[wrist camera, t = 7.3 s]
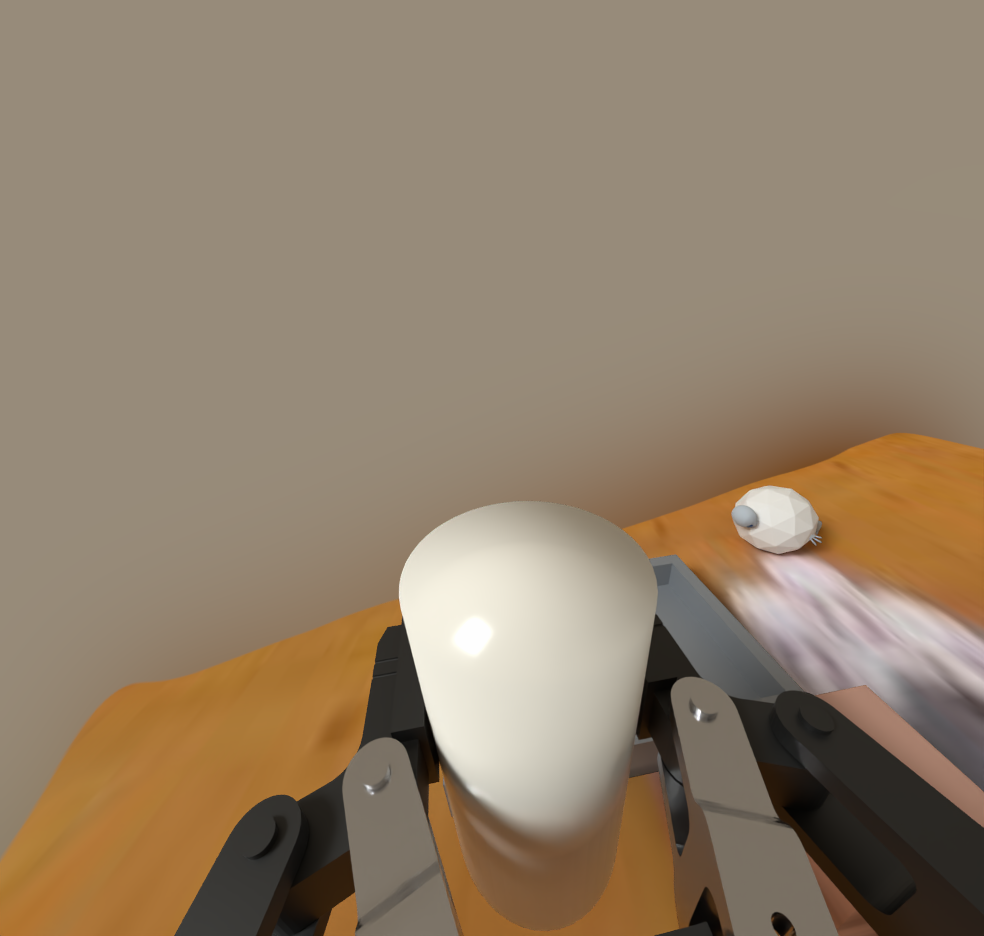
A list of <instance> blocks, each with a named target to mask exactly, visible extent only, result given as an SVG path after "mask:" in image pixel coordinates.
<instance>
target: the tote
mask: <svg viewBox="0 0 984 936" xmlns="http://www.w3.org/2000/svg"><path fill="white" fill-rule="evenodd" d="M649 561H650V563H651V565H652V567H653V570H654V573H655V576H656V579H657V589H658V596H657V606H656V612H655V614H657V615H658V617H659V618H660V620H661V621H662V623H663V626H665V627H666V628H667V630H668V631H669V633H670V634H671V635H672V637H673V638H674V640H675V641H676V643H677V644H678V646H679V647H680V648H681V650H682V651H683V653H684V654H685V656H686V657H687V658H688V660H689V661H690V663H691V664H692V666H693V667H694V668H695V670H696V671H697V673H698V674H699V675H700V676H701V677H702V678H703V679H705V680H707V681H709V682H711V683H713V684H715V685H716V686H718V687H719V688H720V689H722V690H723V691H724V692H725V693H726V694H727V695H729V696H732V697H736V698H741V699H747V700H754V701H761V702H768V703H775V701H776V698H777V697H778V695H780V694H781V693H783V692H785V691H790V690H796V691H802V692H804V691H803V690H802V689H801V688H800V687H799V686H798V685H797V684H796V682H795V681H794V680H793V679H792V678H791V677H790V676H789V675H788V674H787V673H786V672H785V671H784V670H783V669H782V667H781V666H780V665H779V664H778V663H777V662H776V661H775V660H774V659H773V658H772V657H771V656H770V655H769V654H768V652H767V651H766V650H765V649H764V648H763V647H762V646H761V645H760V644H759V643H758V642H757V641H756V640H755V639H754V637H753V636H752V635H751V634H750V633H749V632H748V631H747V630H746V629H745V628H744V627H743V626H742V625H741V624H740V622H739V621H738V620H737V619H736V618H735V617H734V616H733V615H732V614H731V613H730V612H729V611H728V610H727V609H726V608H725V606H724V605H723V604H722V603H721V602H720V601H719V600H718V599H717V598H716V597H715V596H714V595H713V594H712V593H711V591H710V590H709V589H708V588H707V587H706V586H705V585H704V584H703V583H702V582H701V581H700V580H699V579H698V578H697V576H696V575H695V574H694V573H693V572H692V571H691V570H690V569H689V568H688V567H687V566H686V565H685V564H684V563H683V561H682V560H681V559H680V558H679V557H678V556H677V555H670V556H664V557H658V558H652V559H649ZM657 757H658V750H657V748H656V745H655V743H654V741H653V739H652V737H651V738H647V739H642V740H639V739H638V737H637V735H635V741H634V747H633V754H632V760H631V766H630V772H629V778H630V777H635V776H639V775H644V774H649V773H653V772H658V771H659V768H658V760H657ZM443 786H444V790H445V794H446V797H447V801H448V805H449V809H450V812H451V816H452V817H453V814H452V810H451V806H450V802H449V798H448V794H447V790H446V786H445V782H444V778H443Z"/></svg>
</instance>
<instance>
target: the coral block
mask: <svg viewBox="0 0 984 936" xmlns="http://www.w3.org/2000/svg"><path fill="white" fill-rule="evenodd" d="M815 696H816V697H818V698H820V699H822V700H824V701H825V702H827V703H829V704H830V705H831V706H833V707H834V708H835V709H837V710H838V711H839V712H840V713H842V714H843V715H844V716H845V717H847V718H848V719H849V720H850V721H852V722H853V723H854V724H855V725H857V726H858V727H859V728H860V729H862V730H863V731H864V732H865V733H867V734H868V735H869V736H870V737H872V738H873V739H874V740H875V741H876V742H878V743H879V744H880V745H881V746H883V747H884V748H885V749H886V750H888V751H889V752H890V753H891V754H893V755H894V756H895V757H896V758H898V759H899V760H900V761H901V762H903V763H904V764H905V765H906V766H908V767H909V768H910V769H911V770H913V771H914V772H915V773H916V774H918V775H919V776H920V777H921V778H922V779H924V780H925V781H926V782H927V783H929V784H930V785H931V786H932V787H934V788H935V789H936V790H937V791H939V792H940V793H941V794H942V795H944V796H945V797H946V798H947V799H949V800H950V801H951V802H952V803H954V804H955V805H956V806H957V807H959V808H960V809H961V810H962V811H964V812H965V813H966V814H967V815H969V816H970V817H971V818H972V819H973V820H975V821H976V822H977V823H978V824H980V825H981V826H982V827H983V828H984V792H983V791H982V790H981V789H980V788H979V787H978V786H977V785H975V784H974V783H973V782H972V781H971V780H970V779H969V778H968V777H967V776H966V775H964V774H963V773H962V772H961V771H960V770H959V769H958V768H957V767H956V766H954V765H953V764H952V763H951V762H950V761H949V760H948V759H947V758H946V757H944V756H943V755H942V754H941V753H940V752H939V751H938V750H937V749H936V748H935V747H933V746H932V745H931V744H930V743H929V742H928V741H927V740H926V739H925V738H923V737H922V736H921V735H920V734H919V733H918V732H917V731H916V730H915V729H914V728H912V727H911V726H910V725H909V724H908V723H907V722H906V721H905V720H904V719H902V718H901V717H900V716H899V715H898V714H897V713H896V712H895V711H894V710H893V709H891V708H890V707H889V706H888V705H887V704H886V703H885V702H884V701H883V700H881V699H880V698H879V697H878V696H877V695H876V694H875V693H874V692H873V691H871V690H870V689H869V688H868V687H867V686H866V685H863V686H858V687H853V688H849V689H844V690H839V691H834V692H829V693H824V694H820V695H815ZM805 852H806V851H805ZM806 854H807V857H808V859H809V862H810V865H811V867H812V870H813V872H814V875H815V877H816V880H817V882H818V885H819V887H820V890H821V892H822V895H823V897H824V900H825V902H826V905H827V907H828V910H829V912H830V915H831V917H832V920H833V922H834V925H835V927H836V930H837V932H838V935H839V936H878V935H877V933H876V932H875V931H874V930H873V929H872V928H871V927H870V925H869V924H868V923H867V922H866V921H865V920H864V918H863V917H862V916H861V915H860V914H859V913H858V911H857V910H856V909H855V908H854V907H853V906H852V904H851V903H850V902H849V901H848V900H847V899H846V898H845V896H844V895H843V894H842V893H841V892H840V891H839V889H838V888H837V887H836V886H835V885H834V884H833V882H832V881H831V880H830V879H829V878H828V877H827V876H826V874H825V873H824V872H823V871H822V870H821V869H820V867H819V866H818V865H817V864H816V863H815V862H814V860H813V859H812V858H811V857H810V856H809V855H808V853H807V852H806Z"/></svg>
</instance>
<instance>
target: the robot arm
mask: <svg viewBox="0 0 984 936" xmlns="http://www.w3.org/2000/svg"><path fill="white" fill-rule="evenodd" d="M636 735H637V737H638V739H639V740H642V739H647V738H651V737H652V739H653V741H654V743H655V745H656V748H657V750H658V757H657V760H658V768H659V774H660V780H661V786H662V793H663V799H664V805H665V811H666V817H667V823H668V829H669V835H670V842H671V848H672V854H673V863H674V893H675V903H676V911H677V918H678V924H679V929H678V930H674V931H670V932H667V933H663V934H659V935H655V936H778V935H780V936H839V935H838V932H837V930H836V927H835V925H834V922H833V920H832V917H831V915H830V912H829V910H828V907H827V905H826V902H825V900H824V897H823V895H822V892H821V890H820V887H819V885H818V882H817V880H816V877H815V875H814V872H813V870H812V867H811V865H810V862H809V859H808V857H807V854H806V852H807V853H808V855H809V856H810V857H811V858H812V859H813V860H814V862H815V863H816V864H817V865H818V866H819V867H820V869H821V870H822V871H823V872H824V873H825V874H826V876H827V877H828V878H829V879H830V880H831V881H832V882H833V884H834V885H835V886H836V887H837V888H838V889H839V891H840V892H841V893H842V894H843V895H844V896H845V898H846V899H847V900H848V901H849V902H850V903H851V904H852V906H853V907H854V908H855V909H856V910H857V911H858V913H859V914H860V915H861V916H862V917H863V918H864V920H865V921H866V922H867V923H868V924H869V925H870V927H871V928H872V929H873V930H874V931H875V932H876V933H877V935H878V936H984V828H983V827H982V826H981V825H980V824H978V823H977V822H976V821H975V820H973V819H972V818H971V817H970V816H969V815H967V814H966V813H965V812H964V811H962V810H961V809H960V808H959V807H957V806H956V805H955V804H954V803H952V802H951V801H950V800H949V799H947V798H946V797H945V796H944V795H942V794H941V793H940V792H939V791H937V790H936V789H935V788H934V787H932V786H931V785H930V784H929V783H927V782H926V781H925V780H924V779H922V778H921V777H920V776H919V775H918V774H916V773H915V772H914V771H913V770H911V769H910V768H909V767H908V766H906V765H905V764H904V763H903V762H901V761H900V760H899V759H898V758H896V757H895V756H894V755H893V754H891V753H890V752H889V751H888V750H886V749H885V748H884V747H883V746H881V745H880V744H879V743H878V742H876V741H875V740H874V739H873V738H872V737H870V736H869V735H868V734H867V733H865V732H864V731H863V730H862V729H860V728H859V727H858V726H857V725H855V724H854V723H853V722H852V721H850V720H849V719H848V718H847V717H845V716H844V715H843V714H842V713H840V712H839V711H838V710H837V709H835V708H834V707H833V706H831V705H830V704H829V703H827V702H825V701H824V700H822V699H820V698H818V697H816V696H814V695H812V694H809V693H806V692H802V691H796V690H790V691H785V692H783V693H781V694H780V695H778V697H777V698H776V701H775V703H768V702H761V701H754V700H747V699H741V698H736V697H732V696H729V695H727V694H726V693H725V692H724V691H723V690H722V689H720V688H719V687H718V686H716V685H715V684H713V683H711V682H709V681H707V680H705V679H703V678H702V677H701V676H700V675H699V674H698V673H697V671H696V670H695V668H694V667H693V666H692V664H691V663H690V661H689V660H688V658H687V657H686V656H685V654H684V653H683V651H682V650H681V648H680V647H679V646H678V644H677V643H676V641H675V640H674V638H673V637H672V635H671V634H670V633H669V631H668V630H667V628H666V627H665V626H663V623H662V621H661V620H660V618H659V617H658V615H657V614H655V619H654V625H653V631H652V637H651V643H650V649H649V655H648V661H647V668H646V674H645V680H644V686H643V692H642V698H641V704H640V711H639V717H638V723H637V729H636ZM435 782H439V758H438V754H437V750H436V746H435V742H434V738H433V734H432V730H431V726H430V722H429V718H428V714H427V711H426V707H425V703H424V699H423V695H422V691H421V687H420V683H419V679H418V675H417V671H416V667H415V663H414V659H413V655H412V651H411V647H410V643H409V639H408V635H407V631H406V627H405V623H404V619H403V615H402V625H398V626H392V627H387V629H386V631H385V633H384V634H383V636H382V638H381V639H380V641H379V643H378V646H377V652H376V658H375V665H374V670H373V680H372V683H371V689H370V695H369V701H368V707H367V713H366V719H365V725H364V731H363V737H362V741H361V744H360V747H359V749H358V751H357V753H356V754H355V756H354V757H353V759H352V760H351V762H350V763H349V765H348V767H347V768H346V769H345V770H344V771H343V772H342V773H341V774H340V775H339V776H338V777H337V778H335V779H334V780H333V781H331V782H330V783H328V784H326V785H325V786H323V787H321V788H319V789H318V790H316V791H314V792H313V793H311V794H309V795H307V796H306V797H304V798H302V799H300V800H299V801H297V802H296V801H295V800H294V799H293V798H292V797H290V796H287V795H276V796H272V797H269V798H267V799H265V800H263V801H261V802H260V803H258V804H257V805H255V806H254V807H253V808H252V809H251V810H249V811H248V812H247V813H246V814H245V815H244V816H243V818H242V819H241V820H240V821H239V822H238V824H237V825H236V826H235V828H234V829H233V831H232V832H231V834H230V836H229V837H228V839H227V841H226V843H225V845H224V846H223V848H222V850H221V852H220V854H219V856H218V857H217V859H216V861H215V863H214V865H213V866H212V868H211V870H210V872H209V874H208V875H207V877H206V879H205V881H204V883H203V885H202V886H201V888H200V890H199V892H198V894H197V895H196V897H195V899H194V901H193V903H192V905H191V906H190V908H189V910H188V912H187V914H186V915H185V917H184V919H183V921H182V923H181V924H180V926H179V928H178V930H177V932H176V934H175V935H174V936H323V935H324V932H325V929H326V926H327V923H328V920H329V916H330V913H331V910H332V908H333V907H335V906H336V905H337V904H339V903H340V902H342V901H343V900H345V899H346V898H347V897H349V896H350V895H352V894H353V893H354V892H355V894H356V902H357V911H358V924H357V927H356V931H355V936H463V932H462V929H461V926H460V923H459V919H458V916H457V913H456V909H455V906H454V902H453V899H452V896H451V892H450V889H449V885H448V882H447V878H446V875H445V872H444V868H443V865H442V861H441V858H440V855H439V851H438V848H437V844H436V841H435V837H434V834H433V831H432V827H431V824H430V820H429V817H428V797H429V784H431V783H435ZM805 851H806V852H805Z"/></svg>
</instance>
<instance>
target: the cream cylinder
mask: <svg viewBox="0 0 984 936" xmlns="http://www.w3.org/2000/svg"><path fill="white" fill-rule="evenodd" d="M657 596H658V589H657V579H656V576H655V573H654V570H653V567H652V565H651V563H650V561H649V559H648V557H647V555H646V554H645V553H644V551H643V550H642V548H641V547H640V546H639V545H638V544H637V543H636V542H635V541H634V540H633V538H632V537H630V536H629V535H628V534H627V533H626V532H624V531H623V530H622V529H620V528H619V527H617V526H616V525H614V524H613V523H611V522H609V521H607V520H606V519H604V518H602V517H600V516H598V515H595V514H593V513H591V512H588V511H585V510H582V509H579V508H576V507H571V506H567V505H562V504H556V503H550V502H540V501H539V502H538V501H518V502H508V503H499V504H494V505H489V506H485V507H481V508H478V509H474V510H471V511H468V512H466V513H463V514H461V515H459V516H456V517H454V518H452V519H451V520H449V521H447V522H445V523H444V524H442V525H440V526H439V527H437V528H436V529H435V530H433V531H432V532H431V533H430V534H428V535H427V536H426V537H425V538H424V539H423V540H422V541H421V542H420V543H419V544H418V545H417V547H416V548H415V549H414V551H413V552H412V553H411V555H410V556H409V558H408V560H407V562H406V564H405V567H404V569H403V571H402V575H401V579H400V584H399V600H400V606H401V611H402V615H403V619H404V623H405V627H406V631H407V635H408V639H409V643H410V647H411V651H412V655H413V659H414V663H415V667H416V671H417V675H418V679H419V683H420V687H421V691H422V695H423V699H424V703H425V707H426V711H427V714H428V718H429V722H430V726H431V730H432V734H433V738H434V742H435V746H436V750H437V754H438V758H439V762H440V766H441V770H442V774H443V778H444V782H445V786H446V790H447V794H448V798H449V802H450V806H451V810H452V814H453V818H454V822H455V826H456V830H457V834H458V838H459V842H460V846H461V850H462V854H463V857H464V860H465V863H466V866H467V869H468V871H469V873H470V875H471V878H472V880H473V882H474V883H475V885H476V887H477V888H478V890H479V892H480V893H481V895H482V896H483V897H484V898H485V900H486V901H487V902H488V903H489V904H490V905H491V906H492V907H493V908H494V909H495V910H496V911H497V912H498V913H499V914H500V915H502V916H503V917H505V918H506V919H507V920H509V921H510V922H513V923H515V924H517V925H519V926H521V927H524V928H528V929H532V930H539V931H550V930H557V929H561V928H564V927H566V926H569V925H572V924H573V923H575V922H576V921H578V920H580V919H581V918H583V917H584V916H585V915H586V914H587V913H588V912H589V911H590V910H591V909H592V908H593V907H594V906H595V904H596V903H597V902H598V900H599V899H600V898H601V896H602V894H603V892H604V890H605V889H606V887H607V885H608V882H609V879H610V877H611V874H612V871H613V867H614V862H615V858H616V852H617V846H618V839H619V833H620V827H621V821H622V815H623V809H624V803H625V797H626V790H627V784H628V778H629V772H630V766H631V760H632V754H633V747H634V741H635V735H636V729H637V723H638V717H639V711H640V704H641V698H642V692H643V686H644V680H645V674H646V668H647V661H648V655H649V649H650V643H651V637H652V631H653V625H654V619H655V612H656V606H657Z"/></svg>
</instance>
